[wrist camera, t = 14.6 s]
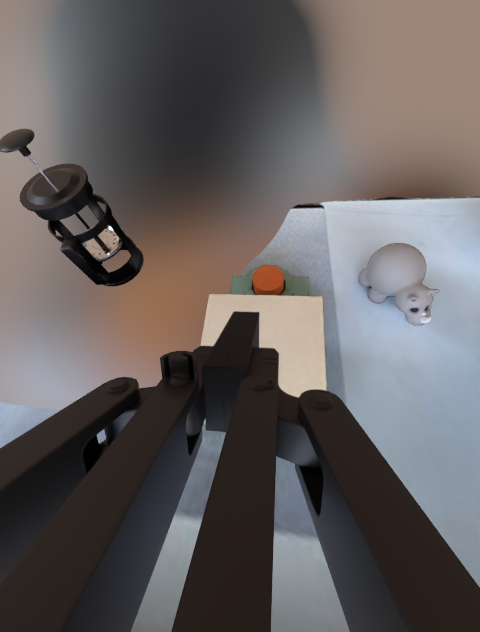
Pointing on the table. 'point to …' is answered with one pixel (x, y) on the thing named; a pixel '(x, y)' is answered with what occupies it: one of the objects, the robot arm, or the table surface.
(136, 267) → the french press
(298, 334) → the lid
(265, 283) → the button
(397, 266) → the round bodied animal figurine
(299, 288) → the control block
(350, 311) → the table surface
